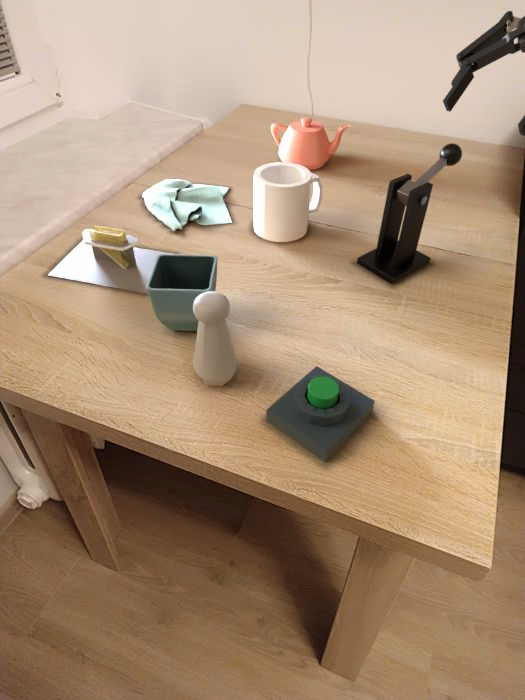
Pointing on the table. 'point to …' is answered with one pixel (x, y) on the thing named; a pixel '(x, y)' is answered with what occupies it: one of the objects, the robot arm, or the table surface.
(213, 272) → the flower pot
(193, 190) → the cloth
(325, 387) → the button
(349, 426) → the control block
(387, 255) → the switch bracket
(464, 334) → the table surface
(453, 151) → the lever
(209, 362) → the salt shaker
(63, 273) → the platform
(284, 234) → the mug
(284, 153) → the teapot
